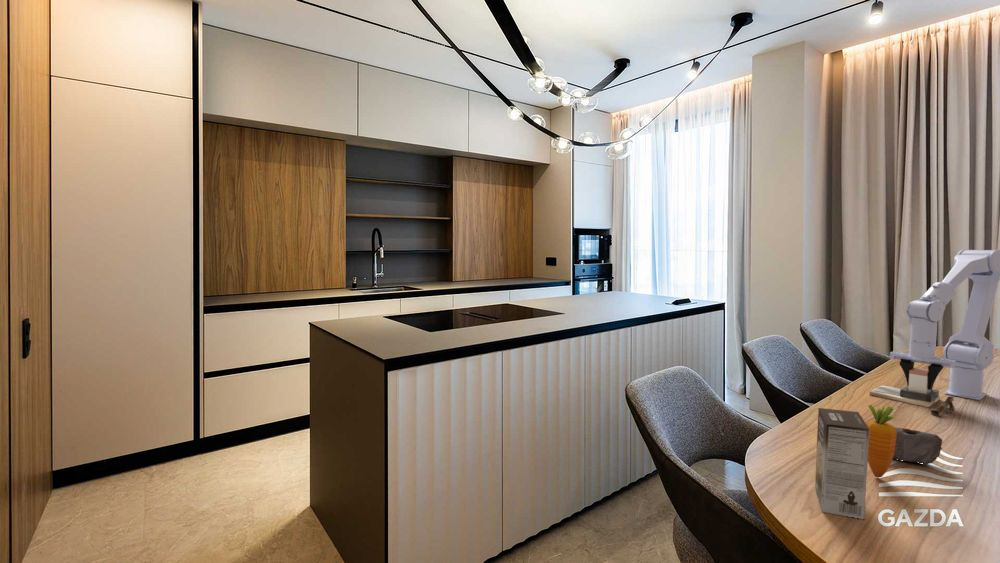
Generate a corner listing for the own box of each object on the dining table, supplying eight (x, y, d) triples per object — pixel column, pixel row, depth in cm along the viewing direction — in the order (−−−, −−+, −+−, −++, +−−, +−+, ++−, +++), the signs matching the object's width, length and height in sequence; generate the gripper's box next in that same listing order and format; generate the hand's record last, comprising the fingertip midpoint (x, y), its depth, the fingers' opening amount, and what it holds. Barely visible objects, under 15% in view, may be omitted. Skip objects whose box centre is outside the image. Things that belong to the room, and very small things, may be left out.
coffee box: (813, 488, 94) (817, 406, 92) (853, 495, 91) (858, 411, 90) (821, 512, 85) (825, 422, 84) (866, 521, 83) (871, 428, 81)
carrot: (855, 473, 100) (859, 400, 98) (878, 471, 100) (882, 400, 99) (876, 485, 95) (880, 409, 94) (900, 483, 95) (905, 408, 94)
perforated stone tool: (849, 451, 110) (851, 421, 109) (854, 444, 114) (856, 415, 113) (939, 473, 99) (941, 440, 99) (941, 465, 103) (943, 433, 103)
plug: (913, 393, 147) (914, 367, 147) (930, 396, 144) (932, 370, 144) (907, 396, 144) (909, 370, 144) (925, 400, 141) (927, 373, 141)
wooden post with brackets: (959, 409, 134) (955, 395, 133) (941, 424, 132) (937, 410, 131) (951, 407, 136) (947, 393, 135) (933, 422, 133) (930, 408, 132)
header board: (881, 388, 156) (882, 379, 156) (939, 399, 145) (940, 389, 145) (869, 394, 150) (870, 385, 149) (929, 407, 138) (929, 396, 138)
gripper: (887, 339, 146) (884, 383, 148) (952, 347, 135) (949, 395, 136) (895, 336, 151) (892, 379, 152) (958, 344, 139) (955, 391, 140)
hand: (919, 387), depth 144 cm, fingers closed on plug, 4 cm apart
